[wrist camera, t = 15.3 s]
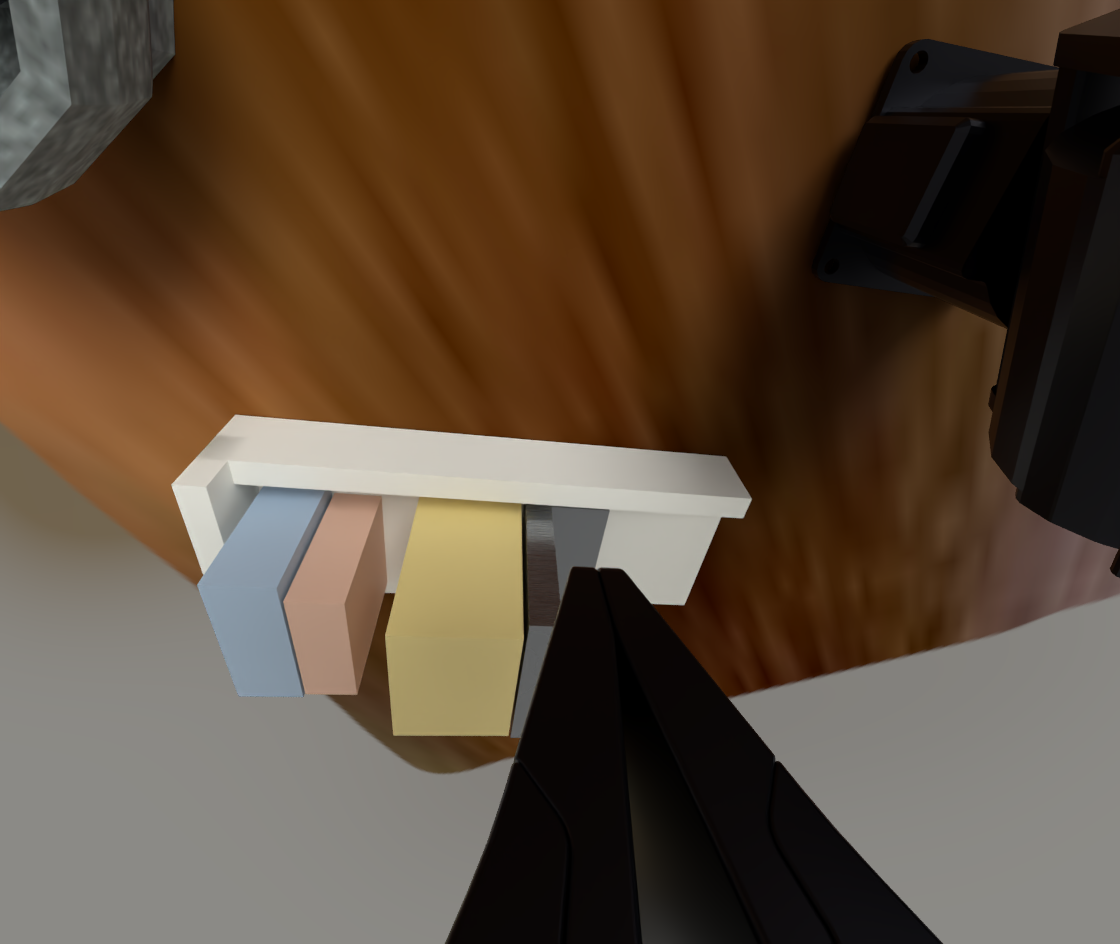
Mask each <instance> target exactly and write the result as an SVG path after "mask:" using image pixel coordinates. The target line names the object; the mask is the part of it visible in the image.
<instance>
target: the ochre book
mask: <svg viewBox="0 0 1120 944" xmlns="http://www.w3.org/2000/svg"><path fill="white" fill-rule="evenodd" d="M523 640H524V632H523V571H522V511H521V503H507V502H493V501H478V500H463V499H448V498H433V497H419V500H418V504H417V508H416V512H415V516H414V521H413V525H412V529H411V533H410V537H409V541H408V545H407V549H406V553H405V557H404V561H403V565H402V569H401V573H400V577H399V581H398V585H397V589H396V593H395V598H394V602H393V606H392V610H391V614H390V618H389V622H388V626H387V630H386V634H385V641H386V653H387V665H388V677H389V689H390V701H391V713H392V726H393V736H508V734H509V728H510V722H511V715H512V709H513V703H514V697H515V690H516V684H517V678H518V672H519V665H520V659H521V653H522V647H523Z"/></svg>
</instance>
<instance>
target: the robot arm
mask: <svg viewBox="0 0 1120 944" xmlns="http://www.w3.org/2000/svg"><path fill="white" fill-rule="evenodd" d="M916 53H917V54H918V56H919V63H918V66H917V67H916V69H915V70H914V71H913V72H911V71H910V68H909V65H910V61H911V59H912V57H913V56H914V54H916ZM1053 65H1054V66H1057V67H1053V66H1049V65H1044V64H1039V63H1035V62H1030V61H1026V60H1021V59H1017V58H1012V57H1008V56H1003V55H999V54H994V53H989V52H985V51H980V50H976V49H971V48H967V47H962V46H958V45H953V44H949V43H944V42H940V41H935V40H930V39H923V40H916V41H912V42H910V43H908V44H906V45H905V46H904V47H903V48H902V49H901V50H900V51H899V52H898V54H897V56H896V58H895V59H894V62H893V64H892V67H891V69H890V72H889V74H888V77H887V79H886V82H885V84H884V87H883V89H882V92H881V94H880V96H879V99H878V101H877V104H876V106H875V109H874V111H873V114H872V116H871V119H870V120H869V121H868V122H867V123H866V124H865V125H864V126H863V129H862V131H861V134H860V136H859V139H858V141H857V144H856V146H855V149H854V151H853V154H852V156H851V159H850V161H849V164H848V166H847V169H846V171H845V174H844V176H843V179H842V181H841V184H840V186H839V189H838V191H837V194H836V196H835V199H834V201H833V204H832V206H831V209H830V216H831V218H830V220H829V223H828V225H827V228H826V230H825V233H824V235H823V238H822V240H821V243H820V245H819V248H818V250H817V253H816V255H815V258H814V260H813V263H812V273H813V274H814V276H815V277H817V278H818V279H820V280H823V281H825V282H831V283H838V284H846V285H853V286H860V287H867V288H874V289H881V290H888V291H895V292H903V293H910V294H917V295H924V296H931V297H936V298H939V299H941V300H943V301H945V302H948V303H950V304H952V305H954V306H957V307H959V308H961V309H963V310H966V311H968V312H970V313H972V314H975V315H977V316H979V317H981V318H984V319H986V320H988V321H990V322H993V323H995V324H997V325H999V326H1002V327H1004V328H1006V329H1007V334H1006V339H1005V344H1004V349H1003V354H1002V359H1001V364H1000V369H999V374H998V380H997V385H994V386H993V387H992V388H991V393H990V398H989V403H988V404H989V407H990V409H991V410H992V412H993V413H992V418H991V423H990V428H989V440H990V449H991V457H992V458H993V460H994V461H995V462H996V464H997V465H998V466H999V467H1000V469H1001V470H1002V471H1003V473H1004V474H1005V475H1006V476H1007V478H1008V479H1009V480H1010V482H1011V483H1012V484H1013V485H1015V486H1016V487H1017V489H1016V499H1017V500H1018V501H1019V503H1021V504H1022V505H1024V506H1026V507H1027V508H1029V509H1030V510H1032V511H1033V512H1035V513H1036V514H1038V515H1040V516H1041V517H1043V518H1044V519H1046V520H1047V521H1049V522H1051V523H1053V524H1056V525H1058V526H1060V527H1062V528H1065V529H1067V530H1069V531H1071V532H1074V533H1076V534H1078V535H1081V536H1083V537H1085V538H1087V539H1090V540H1092V541H1094V542H1097V543H1100V544H1103V545H1106V546H1110V547H1113V548H1116V549H1119V550H1118V552H1117V554H1116V556H1115V558H1114V561H1113V563H1112V565H1111V567H1110V570H1111V572H1112V573H1113V574H1114V575H1115V576H1117V577H1119V578H1120V9H1118V10H1115V11H1113V12H1110V13H1108V14H1105V15H1102V16H1100V17H1097V18H1094V19H1092V20H1089V21H1086V22H1084V23H1081V24H1079V25H1076V26H1073V27H1071V28H1068V29H1065V30H1063V31H1061V32H1060V33H1059V38H1058V43H1057V48H1056V53H1055V58H1054V64H1053ZM1058 67H1059V68H1058ZM831 259H833V260H834V261H833V265H832V267H831V268H830V269H829V270H827V271H824V268H825V265H826V263H827V262H828V261H829V260H831ZM445 944H943V943H942V942H941V941H940V940H939V939H938V938H937V937H936V936H935V934H934V933H933V932H932V931H931V930H930V929H929V928H928V927H927V926H926V925H925V924H924V923H923V922H922V921H921V920H920V919H919V918H918V917H917V915H916V914H915V913H914V912H913V911H912V910H911V909H910V908H909V907H908V906H907V905H906V904H905V903H904V902H903V901H902V900H901V899H900V897H898V895H897V894H896V893H895V892H894V891H893V890H892V889H891V888H890V887H889V886H888V885H887V884H886V883H885V882H884V881H883V880H882V878H881V877H880V876H879V875H878V874H877V873H876V872H875V871H874V870H873V869H872V868H871V867H870V865H869V864H868V863H867V862H866V861H865V860H864V859H863V858H862V857H861V856H860V854H858V852H857V851H856V850H855V849H854V848H853V847H852V846H851V845H850V844H849V842H848V841H847V840H846V839H845V838H844V837H843V836H842V835H841V834H840V833H839V831H838V830H837V829H836V828H835V827H834V826H833V825H832V823H831V822H830V821H829V820H828V819H827V818H826V816H825V815H824V814H823V813H822V812H821V810H820V809H819V808H818V807H817V806H816V805H815V803H814V802H813V801H812V800H811V799H810V797H809V796H808V795H807V794H806V793H805V792H804V790H803V789H802V788H801V787H800V786H799V784H798V783H797V782H796V781H795V779H794V778H793V777H792V776H791V774H790V773H789V772H788V771H787V770H786V768H785V767H784V766H783V765H782V763H780V762H779V761H776V762H775V755H774V754H773V753H772V751H771V750H770V749H769V748H768V747H767V746H766V744H765V743H764V742H763V741H762V739H761V738H760V737H759V736H758V734H757V733H756V732H755V731H754V729H753V728H752V727H751V726H750V724H749V723H748V722H747V721H746V720H745V718H744V717H743V716H742V715H741V713H740V712H739V711H738V710H737V708H736V707H735V706H734V705H733V704H732V702H731V701H730V700H729V699H728V697H727V696H726V695H725V694H724V692H723V691H722V690H721V689H720V688H719V686H718V685H717V684H716V683H715V681H714V680H713V679H712V678H711V677H710V675H709V674H708V673H707V672H706V670H705V669H704V668H703V667H702V665H701V664H700V663H699V662H698V661H697V659H696V658H695V657H694V656H693V654H692V653H691V652H690V651H689V649H688V648H687V647H686V646H685V645H684V643H683V642H682V641H681V640H680V638H679V637H678V636H677V635H676V633H675V632H674V631H673V630H672V629H671V627H670V626H669V625H668V624H667V622H666V621H665V620H664V619H663V618H662V616H661V615H660V614H659V613H658V611H657V610H656V609H655V608H654V606H653V605H652V604H651V603H650V602H649V600H648V599H647V598H646V597H645V595H644V594H643V593H642V592H641V590H640V589H639V588H638V587H637V586H636V584H635V583H634V582H633V581H632V579H631V578H630V577H629V576H628V574H627V573H626V572H625V571H624V570H622V569H620V568H605V567H601V568H598V569H597V570H596V568H594V567H585V566H573V567H572V568H571V569H570V572H569V575H568V579H567V582H566V585H565V589H564V592H563V595H562V599H561V602H560V605H559V609H558V612H557V616H556V619H555V622H554V626H553V629H552V632H551V636H550V639H549V643H548V646H547V649H546V653H545V656H544V659H543V663H542V666H541V670H540V673H539V676H538V680H537V683H536V686H535V690H534V693H533V697H532V700H531V703H530V707H529V710H528V713H527V717H526V720H525V723H524V727H523V730H522V734H521V737H520V740H519V744H518V747H517V750H516V754H515V757H514V763H513V764H512V766H511V770H510V773H509V776H508V780H507V783H506V787H505V790H504V793H503V797H502V799H501V803H500V806H499V809H498V811H497V814H496V817H495V821H494V824H493V826H492V829H491V832H490V836H489V838H488V841H487V844H486V846H485V849H484V851H483V854H482V856H481V859H480V861H479V864H478V866H477V869H476V871H475V874H474V876H473V879H472V881H471V884H470V886H469V889H468V891H467V894H466V896H465V898H464V901H463V903H462V905H461V908H460V910H459V912H458V914H457V917H456V919H455V921H454V924H453V926H452V929H451V931H450V933H449V935H448V938H447V940H446V942H445Z"/></svg>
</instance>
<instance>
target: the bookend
mask: <svg viewBox="0 0 1120 944" xmlns="http://www.w3.org/2000/svg"><path fill="white" fill-rule="evenodd" d="M609 512H610V510H609V509H596V508H582V507H567V506H552V505H537V504H524V510H523V517H522V571H523V632H524V640H523V647H522V653H521V659H520V665H519V672H518V678H517V684H516V690H515V697H514V703H513V709H512V715H511V738H520V737H521V734H522V730H523V727H524V723H525V720H526V717H527V713H528V710H529V707H530V703H531V700H532V697H533V693H534V690H535V686H536V683H537V680H538V676H539V673H540V670H541V666H542V663H543V659H544V656H545V653H546V649H547V646H548V643H549V639H550V636H551V632H552V629H553V626H554V622H555V619H556V616H557V612H558V609H559V605H560V601H561V599H562V595H563V592H564V589H565V585H566V582H567V579H568V575H569V572H570V569H571V568H572V567H573V566H585V567H594V568H595V567H596V563H597V559H598V555H599V551H600V547H601V543H602V539H603V535H604V531H605V528H606V524H607V520H608V516H609Z"/></svg>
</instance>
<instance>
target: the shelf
mask: <svg viewBox="0 0 1120 944" xmlns="http://www.w3.org/2000/svg"><path fill="white" fill-rule="evenodd" d="M172 488H173V491H174V494H175V497H176V499H177V502H178V505H179V508H180V511H181V513H182V516H183V519H184V522H185V525H186V527H187V530H188V533H189V536H190V539H191V541H192V544H193V547H194V550H195V553H196V555H197V558H198V561H199V564H200V567H201V569H202V572H203V577H202V578H201V580H200V581H199V583H198V584H197V586H198V589H199V592H200V594H201V597H202V599H203V602H204V605H205V608H206V610H207V613H208V616H209V619H210V621H211V624H212V626H213V629H214V632H215V635H216V637H217V640H218V643H219V645H220V648H221V651H222V653H223V656H224V659H225V661H226V664H227V667H228V669H229V672H230V675H231V677H232V680H233V683H234V686H235V688H236V691H237V694H238V696H250V697H254V696H256V697H304V694H332V695H357V694H358V690H359V686H360V683H361V679H362V675H363V671H364V668H365V664H366V660H367V657H368V653H369V649H370V645H371V642H372V638H373V634H374V631H375V627H376V623H377V619H378V616H379V612H380V608H381V605H382V601H383V597H384V593H396V589H397V585H398V581H399V577H400V573H401V569H402V565H403V561H404V557H405V553H406V549H407V545H408V541H409V537H410V533H411V529H412V525H413V521H414V516H415V512H416V508H417V504H418V500H419V497H433V498H448V499H463V500H478V501H493V502H507V503H521V511H522V517H523V510H524V504H537V505H552V506H567V507H582V508H596V509H609V510H610V512H609V516H608V520H607V524H606V528H605V531H604V535H603V539H602V543H601V547H600V551H599V555H598V559H597V563H596V567H595V568H596V570H597V569H598V568H601V567H605V568H620V569H622V570H624V571H625V572H626V573H627V574H628V576H629V577H630V578H631V579H632V581H633V582H634V583H635V584H636V586H637V587H638V588H639V589H640V590H641V592H642V593H643V594H644V595H645V597H646V598H647V599H648V600H649V602H650V603H651V604H670V605H685V602H686V600H687V598H688V595H689V593H690V590H691V588H692V586H693V583H694V581H695V579H696V576H697V574H698V571H699V569H700V567H701V564H702V562H703V559H704V557H705V555H706V552H707V550H708V548H709V545H710V543H711V540H712V538H713V536H714V533H715V531H716V528H717V526H718V524H719V521H720V519H721V517H730V518H744V515H745V513H746V511H747V509H748V507H749V504H750V502H751V500H752V498H751V496H750V495H749V493H748V492H747V490H746V488H745V487H744V485H743V483H742V482H741V480H740V478H739V477H738V475H737V473H736V472H735V470H734V469H733V467H732V465H731V464H730V462H729V460H728V459H727V457H726V456H714V455H702V454H691V453H679V452H667V451H655V450H644V449H632V448H620V447H608V446H597V445H585V444H573V443H561V442H550V441H538V440H526V439H514V438H503V437H491V436H479V435H467V434H456V433H444V432H432V431H420V430H409V429H397V428H385V427H373V426H362V425H350V424H338V423H326V422H315V421H303V420H291V419H279V418H268V417H256V416H244V415H235V416H234V417H233V418H232V419H231V420H230V421H229V422H228V423H227V424H226V426H225V427H224V428H223V429H222V430H221V431H220V432H219V433H218V434H217V435H216V436H215V438H214V439H213V440H212V441H211V442H210V443H209V444H208V445H207V446H206V447H205V448H204V450H203V451H202V452H201V453H200V454H199V455H198V456H197V457H196V458H195V459H194V461H193V462H192V463H191V464H190V465H189V466H188V467H187V468H186V469H185V470H184V471H183V473H182V474H181V475H180V476H179V477H178V478H177V479H176V480H175V481H174V482H173V483H172Z"/></svg>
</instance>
